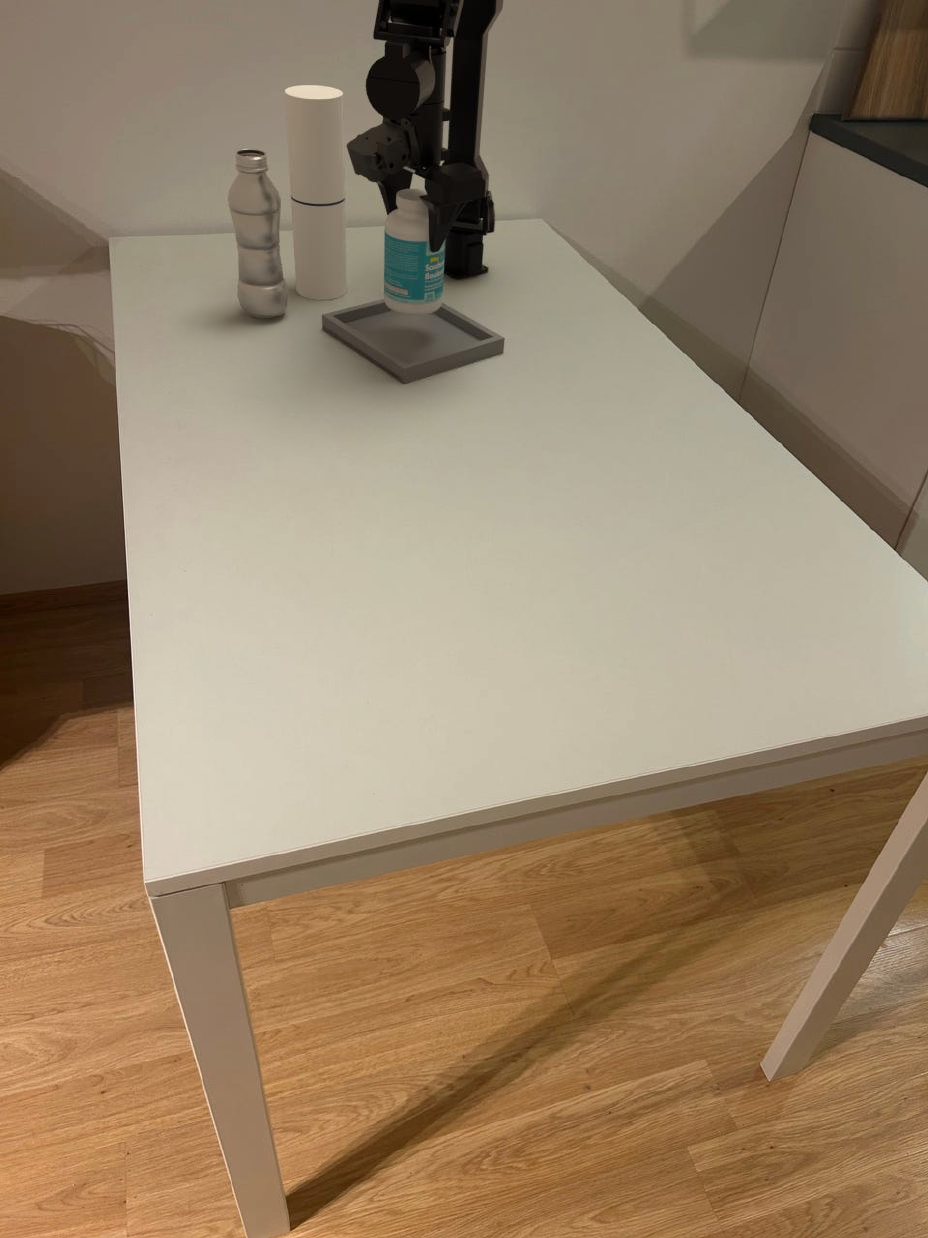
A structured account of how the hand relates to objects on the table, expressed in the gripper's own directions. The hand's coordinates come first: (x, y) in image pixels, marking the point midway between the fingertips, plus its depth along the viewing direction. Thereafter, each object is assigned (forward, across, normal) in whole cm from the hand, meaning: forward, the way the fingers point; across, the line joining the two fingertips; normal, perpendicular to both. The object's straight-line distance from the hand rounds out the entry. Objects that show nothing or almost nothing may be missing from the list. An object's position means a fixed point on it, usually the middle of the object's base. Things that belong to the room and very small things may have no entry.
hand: (415, 241), depth 113 cm
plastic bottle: (+13, -17, -12) cm, 25 cm away
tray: (+13, 0, 0) cm, 13 cm away
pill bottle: (+8, 0, 0) cm, 8 cm away
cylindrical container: (+13, -20, -1) cm, 24 cm away
